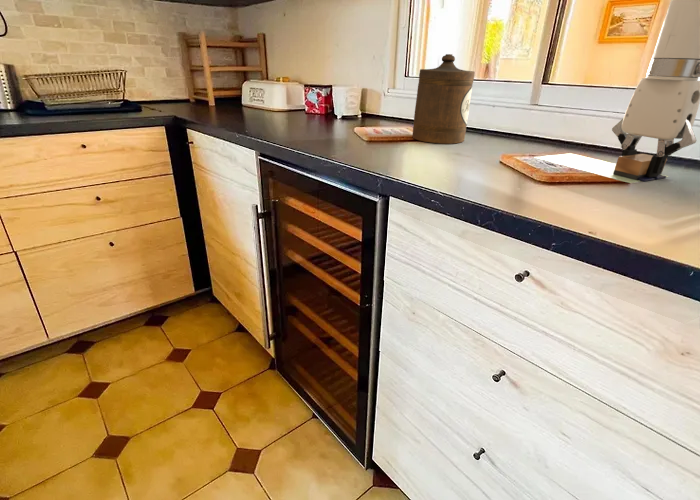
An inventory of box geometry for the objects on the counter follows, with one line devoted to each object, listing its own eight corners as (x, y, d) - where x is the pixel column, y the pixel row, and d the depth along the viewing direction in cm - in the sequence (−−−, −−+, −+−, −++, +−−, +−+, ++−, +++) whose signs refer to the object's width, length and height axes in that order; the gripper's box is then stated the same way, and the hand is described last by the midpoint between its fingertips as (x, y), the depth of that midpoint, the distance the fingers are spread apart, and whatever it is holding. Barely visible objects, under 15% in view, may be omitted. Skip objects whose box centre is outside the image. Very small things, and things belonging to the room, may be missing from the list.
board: (667, 182, 78) (669, 176, 78) (627, 189, 73) (630, 182, 73) (569, 158, 96) (570, 153, 96) (531, 162, 91) (532, 157, 90)
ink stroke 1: (653, 180, 75) (654, 178, 75) (644, 182, 74) (645, 179, 73) (647, 178, 76) (648, 176, 76) (637, 179, 74) (638, 177, 74)
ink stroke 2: (665, 178, 76) (666, 176, 76) (656, 179, 75) (657, 177, 75) (659, 176, 77) (659, 174, 77) (650, 178, 76) (650, 176, 76)
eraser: (660, 176, 78) (667, 158, 76) (636, 180, 74) (642, 161, 73) (637, 170, 81) (643, 153, 80) (612, 174, 78) (618, 156, 76)
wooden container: (473, 144, 109) (487, 55, 100) (421, 144, 107) (431, 53, 97) (452, 134, 122) (463, 55, 113) (405, 134, 120) (413, 53, 110)
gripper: (743, 73, 64) (697, 182, 72) (637, 69, 78) (608, 161, 86) (719, 72, 61) (674, 187, 69) (613, 68, 75) (585, 164, 83)
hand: (637, 172), depth 77 cm, fingers closed on eraser, 4 cm apart
